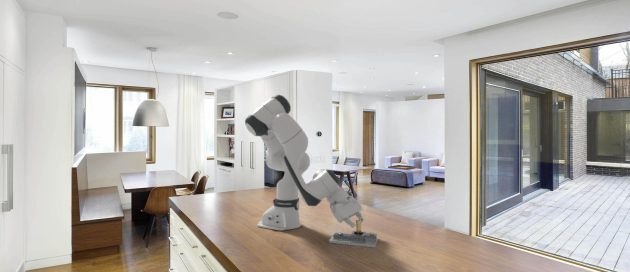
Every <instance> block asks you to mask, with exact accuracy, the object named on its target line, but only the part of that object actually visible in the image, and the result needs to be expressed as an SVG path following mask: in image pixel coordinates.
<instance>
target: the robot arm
mask: <svg viewBox="0 0 630 272" xmlns="http://www.w3.org/2000/svg"><path fill="white" fill-rule="evenodd" d="M291 107H292V106H291V104H290V102H289V100H288V99H287V98H286V97H285V96H283V95H281V94H276V95H274V96H272V97H270V98H269V99H268V100H266V101H265V102H263V103H261V104H260V106H259V107H258V106H257V108H256V109H254V111H253V112H252V113H251V114H248V116H247V117H245V120H244V124H245V126H246V129H247V131H248V132H249V133H251V134H252V135H253V136H255V137H260V139H261V140H262V142H263V144H264V145H265V147H266V149H267V155H265V164H266V166H267V167H268V168H269V169H272V170H274V171H278V172H279V171H281V172H284V175H283V177H282V178H281V179H280V180H278V181H277V183H276V197H275V198H274V199H273V200H272V201H271V203H272V204H273V205H271V206H270V207H269V208H268V209H266V210H265V212H263V214H262V217H261V220H259V222H258V223H257V225H256V226H257V227H258V228H264V229H270V230H276V231H286V230H287V231H288V230H293V229H299V228H300V227H301V226H302V223H301V218H300V198H299V194H300V197H301V199H302V201H303V202H304V204H305V205H307V206H308V207H317V206H319V204H320V203H322V201H323V200H324V199H326V201H327V203H329V208H330V211H331V213H332V215H333V217H334V218H335V219H336V221H337V222H338V223H345V224H347V225H348V226H350V228H352V229H353V228H356V222H355V221H352V220H351V218H352V217H354V216H356V217H357V218H358V219H357V220H361V224H362V223H363V222H364V221H365V219H364V217H363V215H362V210H363V207H362V206H361V204H360V203H359V201H358V200H357V199H356V197H354V194H353V193H352V192H349V191H346V190H344V189H343V188H342V187H341V186H340V182H341V178H339V176H337V174H336V173H335V172H334V170H332V169H325V168H322V169H321V168H320V169H318V170H317V171H316V172H315V173H314V174H313V176H312V180H311V181H309V182H307V183H306V182H305V180H304V178H303V176H302V175H304V173H305V172H306V171H307V170H308V169H309V168H310V165H311V158H310V155H309V154H308V152H306V151H307V149H308V148H309V138H308V136H307V134H306V133H305V131H304V129H303V128H302V126H300V124H299V123H298V122H297V121H296V120H295V119H294V118H293V117H292V116H291V115H290V114H289V113H290V112H291Z"/></svg>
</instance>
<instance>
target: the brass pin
mask: <svg viewBox="0 0 630 272" xmlns="http://www.w3.org/2000/svg"><path fill="white" fill-rule="evenodd" d="M355 224H356V226H355V231H356V235H361V232H362V223H361V220H359V219H357V220H355Z"/></svg>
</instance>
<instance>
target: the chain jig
mask: <svg viewBox="0 0 630 272" xmlns="http://www.w3.org/2000/svg"><path fill="white" fill-rule="evenodd" d="M378 240H379V236H378V233H375V232H367V231H361V235H356V230H353V231H352V232H351V233H346V232H342V231H341V232H334V233H333V235H332V236H331V237H330V239H329V240H328V244H329V243H330V244H340V245H348V246H349V245H350V246H355V247H356V246H357V247H358V246H359V247H367V248H376V247H377V246H376V245H377V243H378Z"/></svg>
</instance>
